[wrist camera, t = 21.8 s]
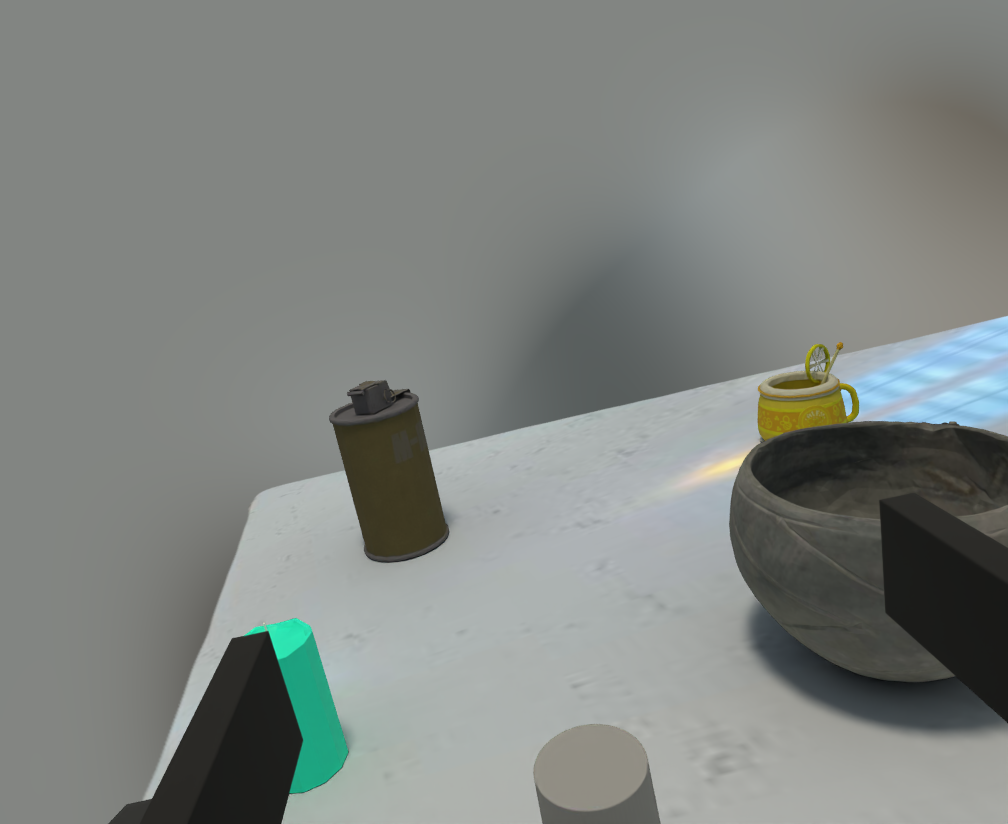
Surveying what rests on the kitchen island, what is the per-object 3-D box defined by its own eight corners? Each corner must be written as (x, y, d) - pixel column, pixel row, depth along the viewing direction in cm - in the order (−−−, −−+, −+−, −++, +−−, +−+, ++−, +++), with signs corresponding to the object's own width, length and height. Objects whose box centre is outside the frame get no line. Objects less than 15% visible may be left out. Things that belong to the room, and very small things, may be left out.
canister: (415, 566, 82) (373, 397, 76) (347, 558, 87) (303, 399, 82) (467, 522, 91) (432, 368, 85) (402, 517, 96) (366, 372, 91)
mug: (774, 460, 91) (766, 367, 88) (749, 432, 101) (740, 349, 98) (880, 442, 90) (875, 348, 87) (843, 417, 100) (837, 332, 97)
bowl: (1114, 768, 41) (1124, 528, 37) (727, 722, 50) (702, 525, 46) (1028, 576, 59) (1029, 400, 55) (755, 567, 68) (738, 416, 64)
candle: (345, 781, 52) (301, 635, 49) (261, 803, 51) (210, 658, 48) (350, 725, 58) (311, 592, 54) (274, 745, 57) (230, 611, 54)
